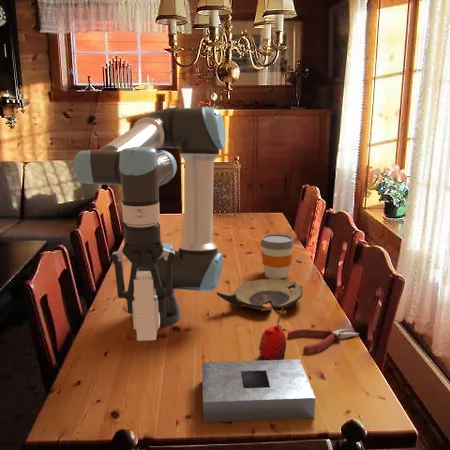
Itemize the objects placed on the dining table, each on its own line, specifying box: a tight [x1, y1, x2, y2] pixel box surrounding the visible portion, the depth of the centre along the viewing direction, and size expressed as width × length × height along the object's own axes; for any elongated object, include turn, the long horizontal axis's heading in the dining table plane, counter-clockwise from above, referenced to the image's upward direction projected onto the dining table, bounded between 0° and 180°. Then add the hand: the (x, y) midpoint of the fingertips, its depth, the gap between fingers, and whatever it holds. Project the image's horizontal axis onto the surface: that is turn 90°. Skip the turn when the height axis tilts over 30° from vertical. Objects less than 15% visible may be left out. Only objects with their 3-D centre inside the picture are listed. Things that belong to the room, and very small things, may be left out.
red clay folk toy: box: [258, 307, 287, 361], centre depth 130 cm, size 8×7×15 cm
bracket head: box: [201, 358, 316, 424], centre depth 113 cm, size 16×24×5 cm, turn 93°
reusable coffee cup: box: [260, 233, 295, 280], centre depth 190 cm, size 13×13×15 cm
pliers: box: [287, 327, 360, 355], centre depth 141 cm, size 12×20×3 cm, turn 110°
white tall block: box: [133, 271, 158, 341], centre depth 107 cm, size 5×4×14 cm
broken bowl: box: [216, 278, 304, 311], centre depth 165 cm, size 22×30×8 cm
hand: (147, 325), depth 108 cm, fingers closed on white tall block, 4 cm apart
